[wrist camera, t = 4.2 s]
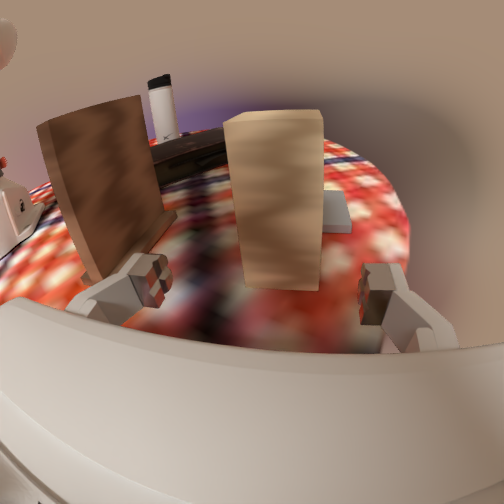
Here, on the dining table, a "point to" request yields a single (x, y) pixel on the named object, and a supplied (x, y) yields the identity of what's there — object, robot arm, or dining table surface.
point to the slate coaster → (335, 213)
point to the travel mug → (163, 108)
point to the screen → (105, 183)
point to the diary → (189, 156)
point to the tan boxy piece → (278, 196)
